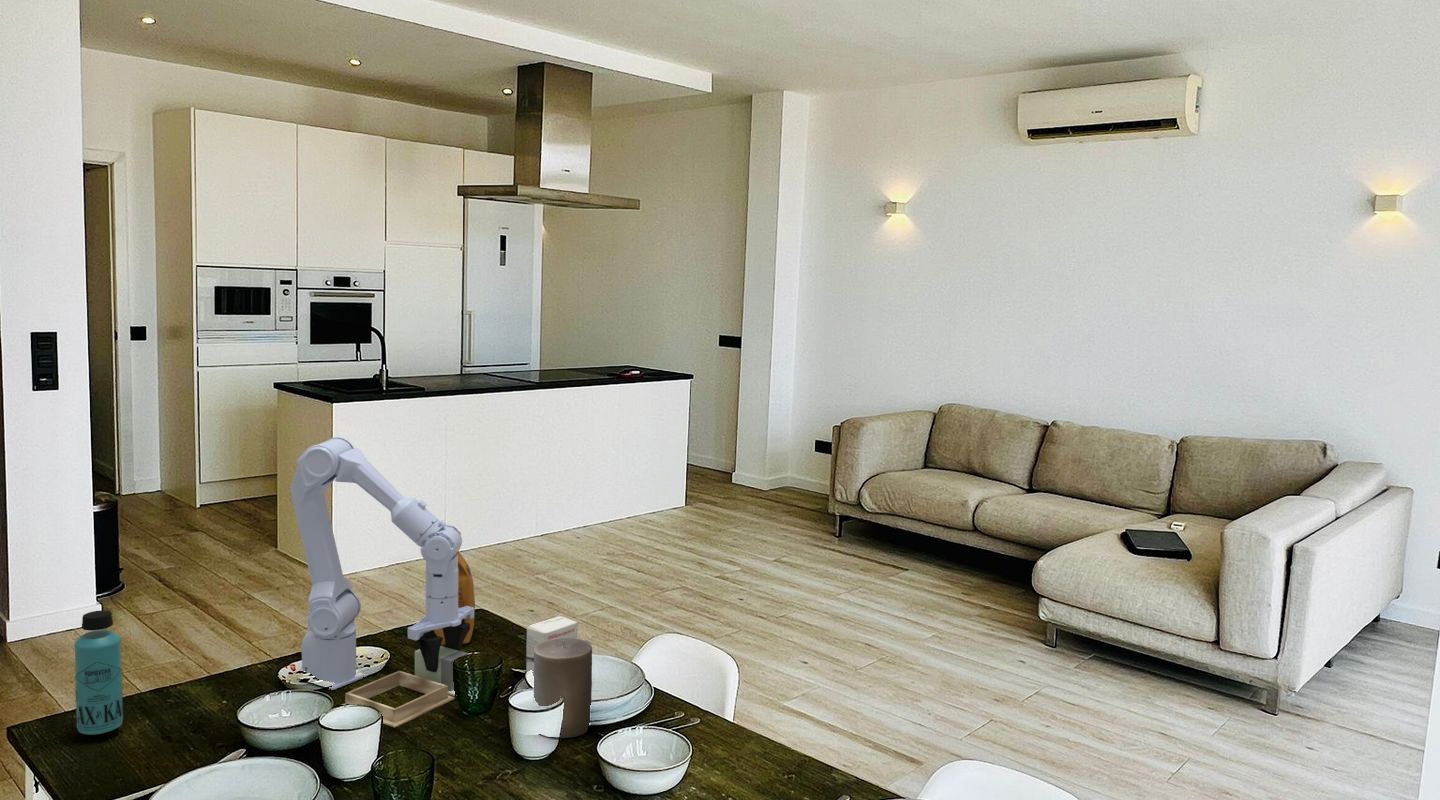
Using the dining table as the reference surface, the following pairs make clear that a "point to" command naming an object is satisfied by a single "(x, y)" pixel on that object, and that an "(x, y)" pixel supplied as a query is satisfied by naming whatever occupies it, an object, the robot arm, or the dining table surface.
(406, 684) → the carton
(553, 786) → the dining table surface
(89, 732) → the beverage bottle
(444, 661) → the box
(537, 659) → the pillar candle
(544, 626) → the ink box
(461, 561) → the coffee package
